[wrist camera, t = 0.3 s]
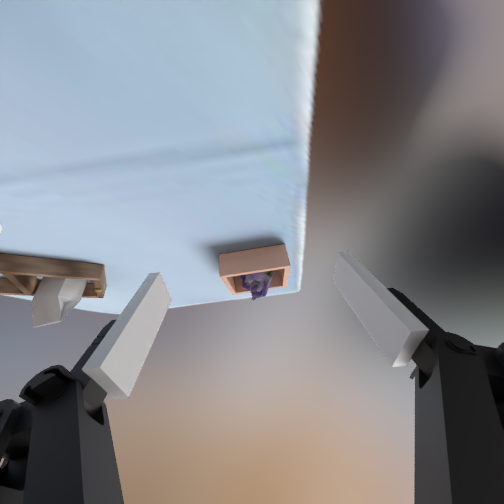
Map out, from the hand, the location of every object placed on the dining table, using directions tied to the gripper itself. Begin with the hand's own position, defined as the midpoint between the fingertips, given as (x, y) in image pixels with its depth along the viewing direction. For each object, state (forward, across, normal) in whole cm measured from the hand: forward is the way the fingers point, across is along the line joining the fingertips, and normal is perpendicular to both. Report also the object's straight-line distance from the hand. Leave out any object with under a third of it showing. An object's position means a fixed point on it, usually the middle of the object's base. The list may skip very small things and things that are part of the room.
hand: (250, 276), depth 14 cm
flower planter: (+26, +1, -16) cm, 30 cm away
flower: (+26, +1, -16) cm, 30 cm away
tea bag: (+22, -38, -10) cm, 45 cm away
